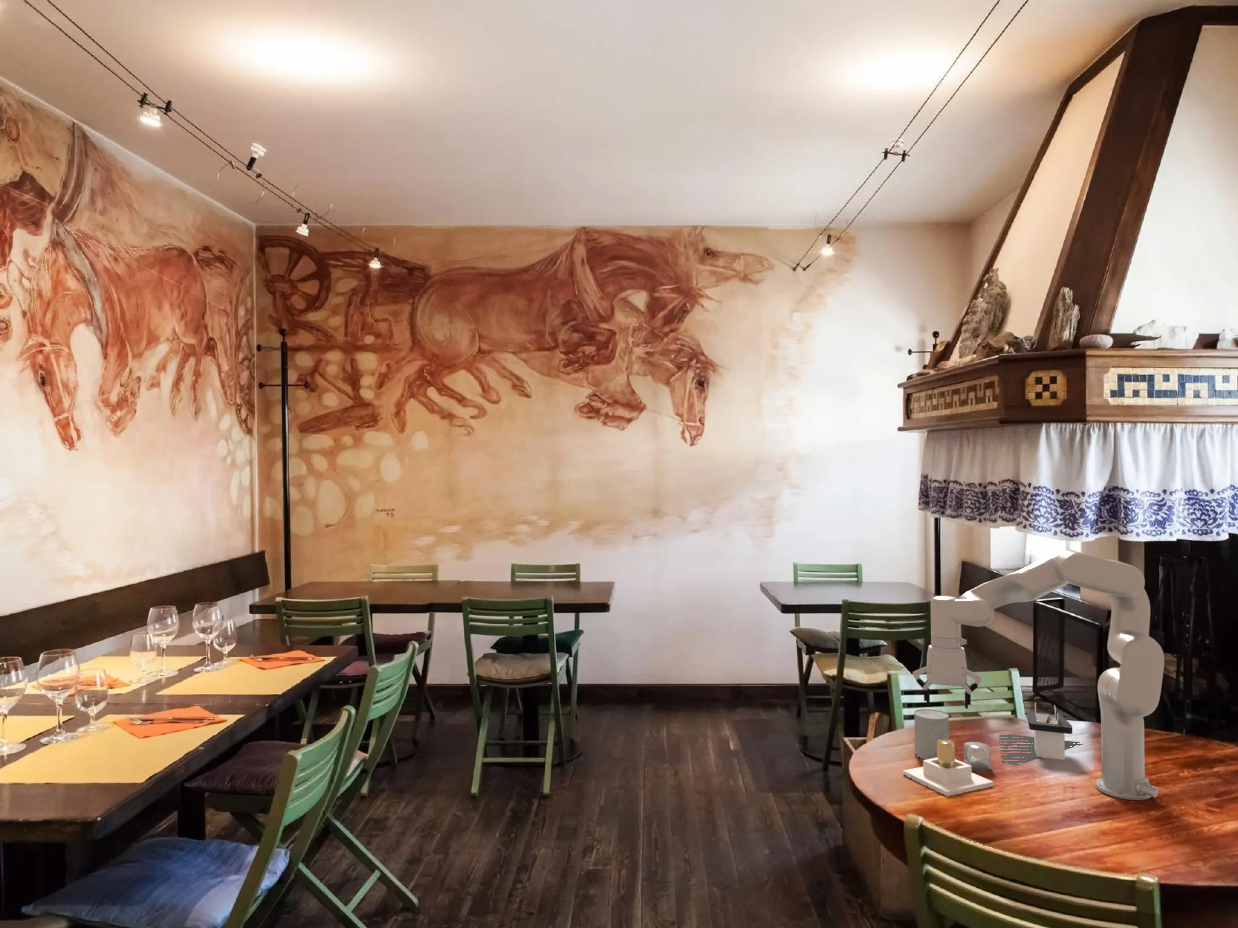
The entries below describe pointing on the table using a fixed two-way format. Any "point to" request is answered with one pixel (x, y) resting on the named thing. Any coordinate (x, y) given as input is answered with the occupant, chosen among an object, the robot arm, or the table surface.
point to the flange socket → (948, 777)
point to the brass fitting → (946, 753)
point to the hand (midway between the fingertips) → (947, 705)
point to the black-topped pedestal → (1040, 738)
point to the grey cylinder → (930, 731)
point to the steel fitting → (977, 756)
